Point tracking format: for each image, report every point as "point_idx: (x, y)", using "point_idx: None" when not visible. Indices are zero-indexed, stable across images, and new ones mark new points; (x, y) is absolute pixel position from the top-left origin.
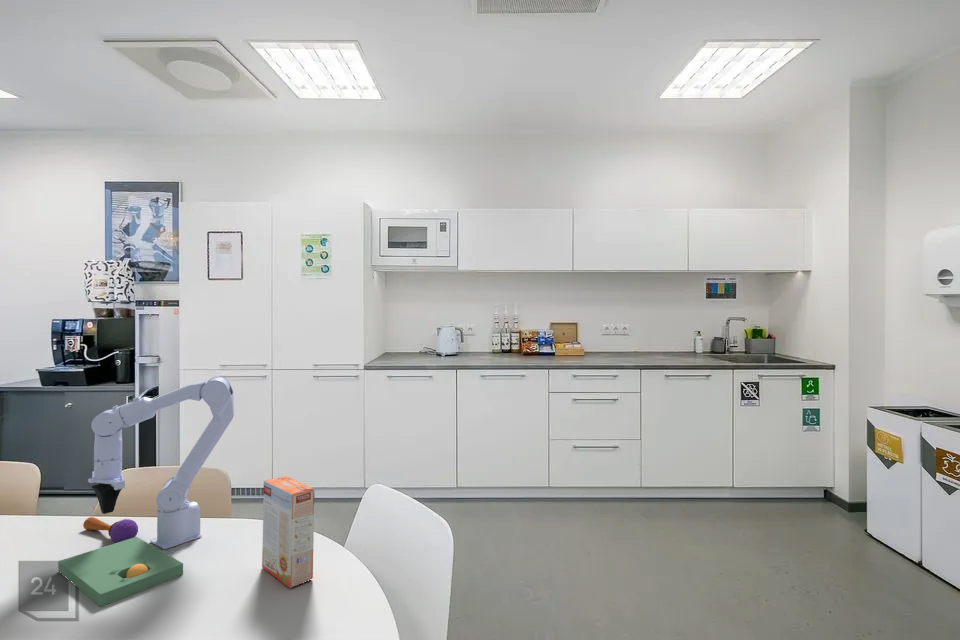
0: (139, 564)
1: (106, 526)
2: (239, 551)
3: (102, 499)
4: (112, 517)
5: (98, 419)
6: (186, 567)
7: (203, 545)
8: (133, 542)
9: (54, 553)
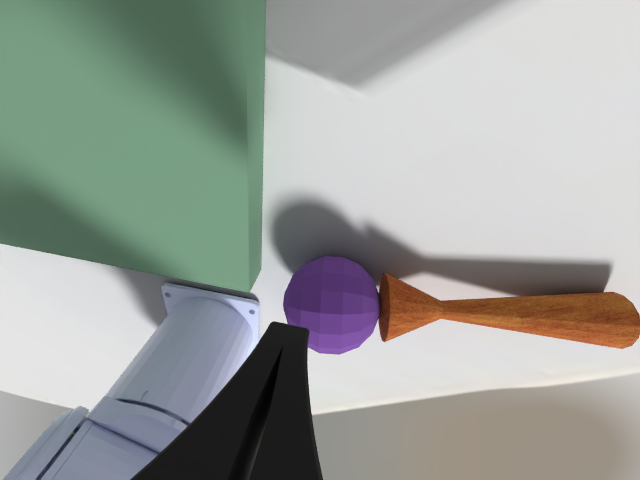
0: None
1: (460, 311)
2: (39, 329)
3: (185, 430)
4: (594, 375)
5: None
6: None
7: (127, 326)
8: (203, 261)
9: (514, 95)
